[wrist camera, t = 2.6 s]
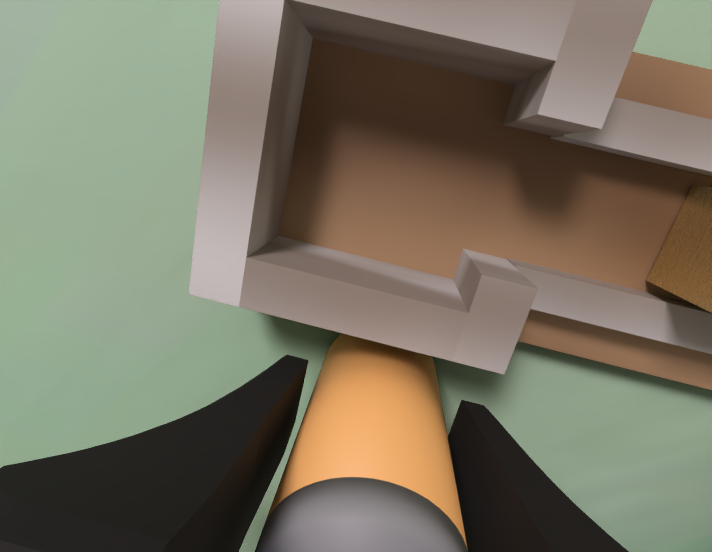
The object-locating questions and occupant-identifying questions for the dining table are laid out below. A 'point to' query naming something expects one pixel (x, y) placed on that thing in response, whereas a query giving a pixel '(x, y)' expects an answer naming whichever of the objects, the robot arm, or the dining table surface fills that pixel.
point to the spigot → (369, 460)
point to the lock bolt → (688, 252)
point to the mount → (454, 177)
